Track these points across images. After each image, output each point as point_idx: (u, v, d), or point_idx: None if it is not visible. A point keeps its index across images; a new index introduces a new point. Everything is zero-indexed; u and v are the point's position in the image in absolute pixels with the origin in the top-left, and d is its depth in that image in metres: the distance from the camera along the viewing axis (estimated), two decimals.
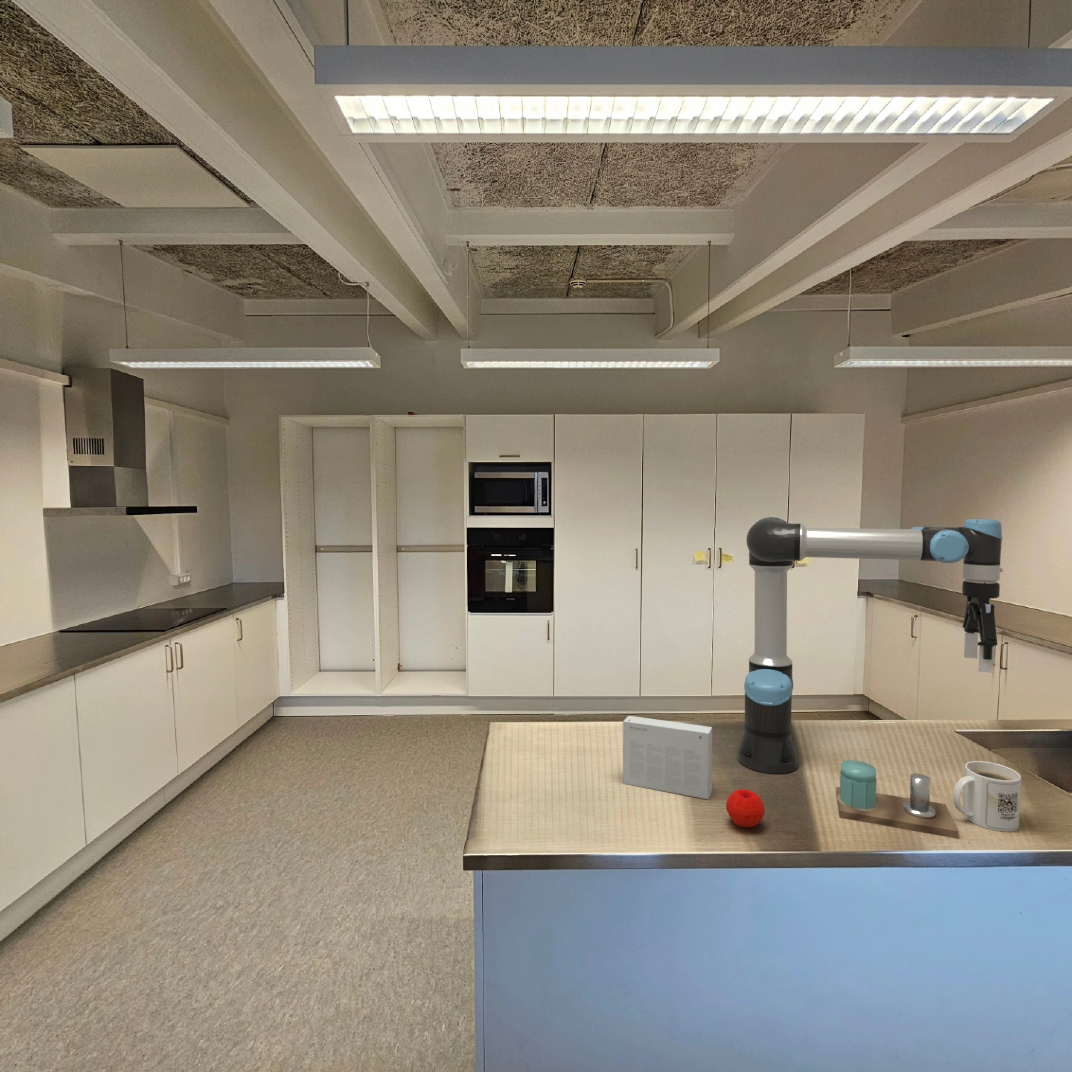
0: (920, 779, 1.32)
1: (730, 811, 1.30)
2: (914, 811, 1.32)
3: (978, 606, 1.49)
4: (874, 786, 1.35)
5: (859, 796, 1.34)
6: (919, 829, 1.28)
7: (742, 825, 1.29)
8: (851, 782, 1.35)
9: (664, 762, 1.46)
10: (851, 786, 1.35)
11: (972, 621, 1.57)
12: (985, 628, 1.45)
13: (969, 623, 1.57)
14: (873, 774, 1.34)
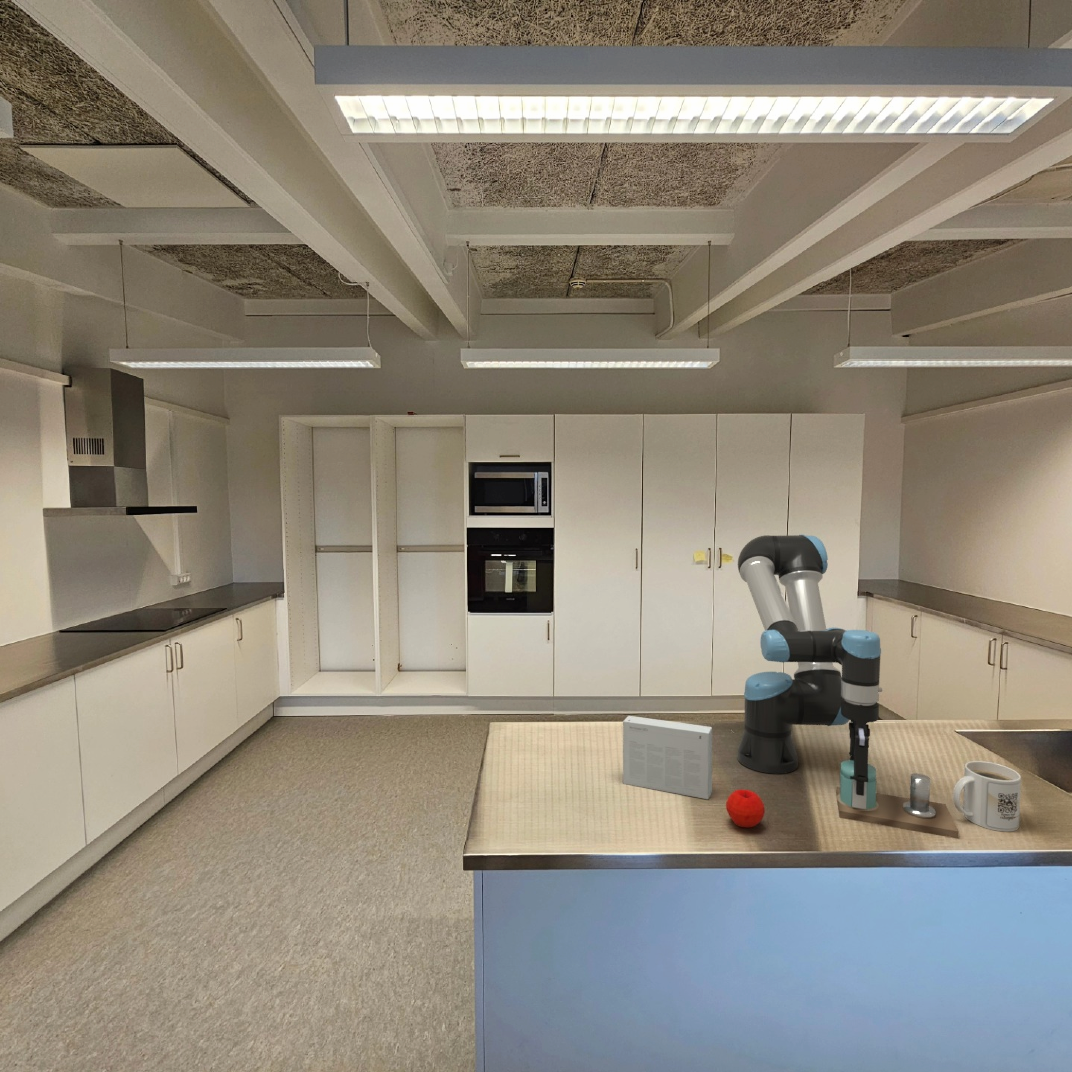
0: (920, 779, 1.32)
1: (730, 811, 1.30)
2: (914, 811, 1.32)
3: (855, 730, 1.34)
4: (874, 786, 1.35)
5: None
6: (919, 829, 1.28)
7: (742, 825, 1.29)
8: (851, 782, 1.35)
9: (664, 762, 1.46)
10: (851, 786, 1.35)
11: None
12: (857, 763, 1.31)
13: (852, 749, 1.40)
14: (873, 774, 1.34)
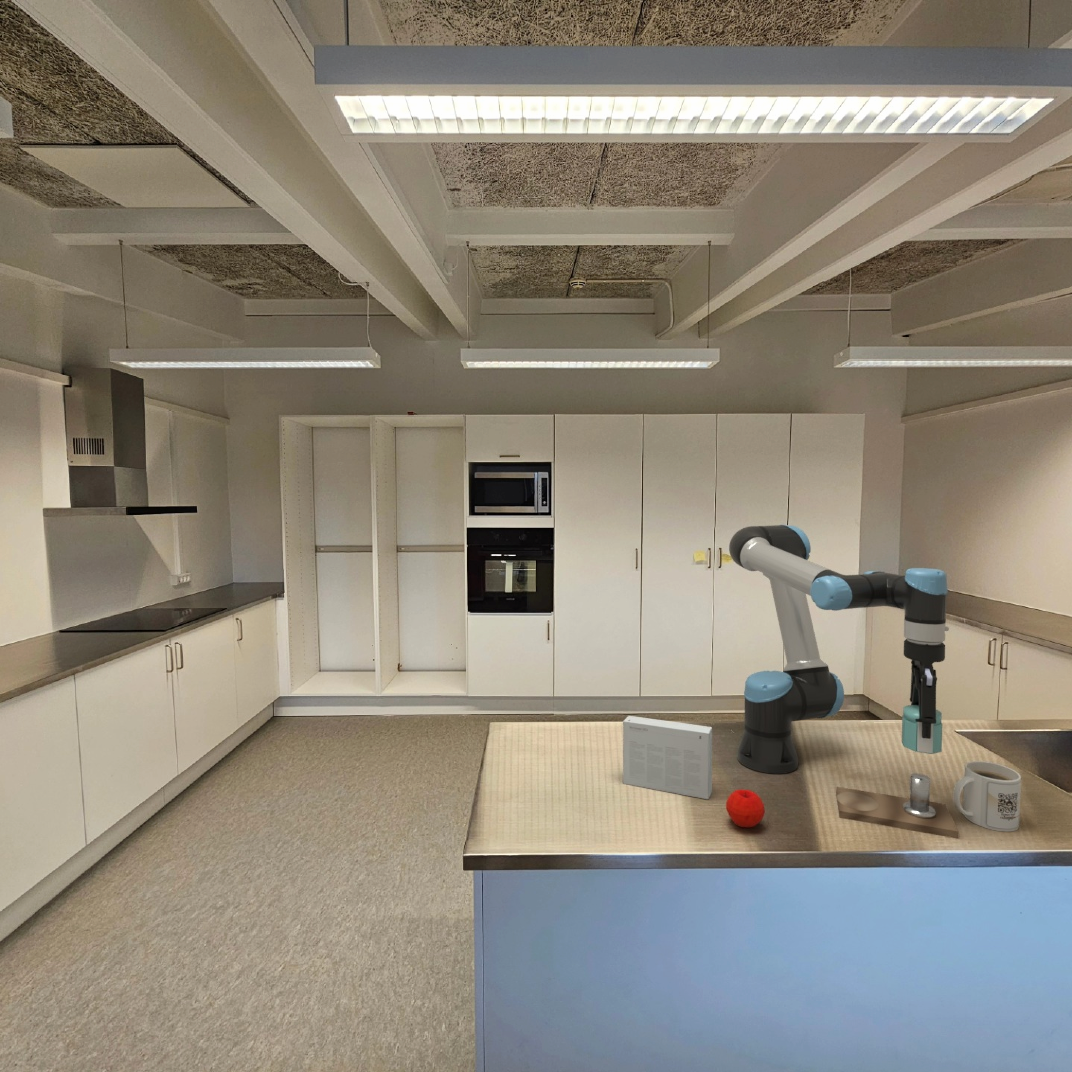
0: (920, 779, 1.32)
1: (730, 811, 1.30)
2: (914, 811, 1.32)
3: (920, 671, 1.28)
4: (940, 729, 1.29)
5: None
6: (919, 829, 1.28)
7: (742, 825, 1.29)
8: (916, 725, 1.29)
9: (664, 762, 1.46)
10: (916, 730, 1.29)
11: (918, 691, 1.34)
12: (924, 704, 1.25)
13: (915, 694, 1.34)
14: (939, 717, 1.29)
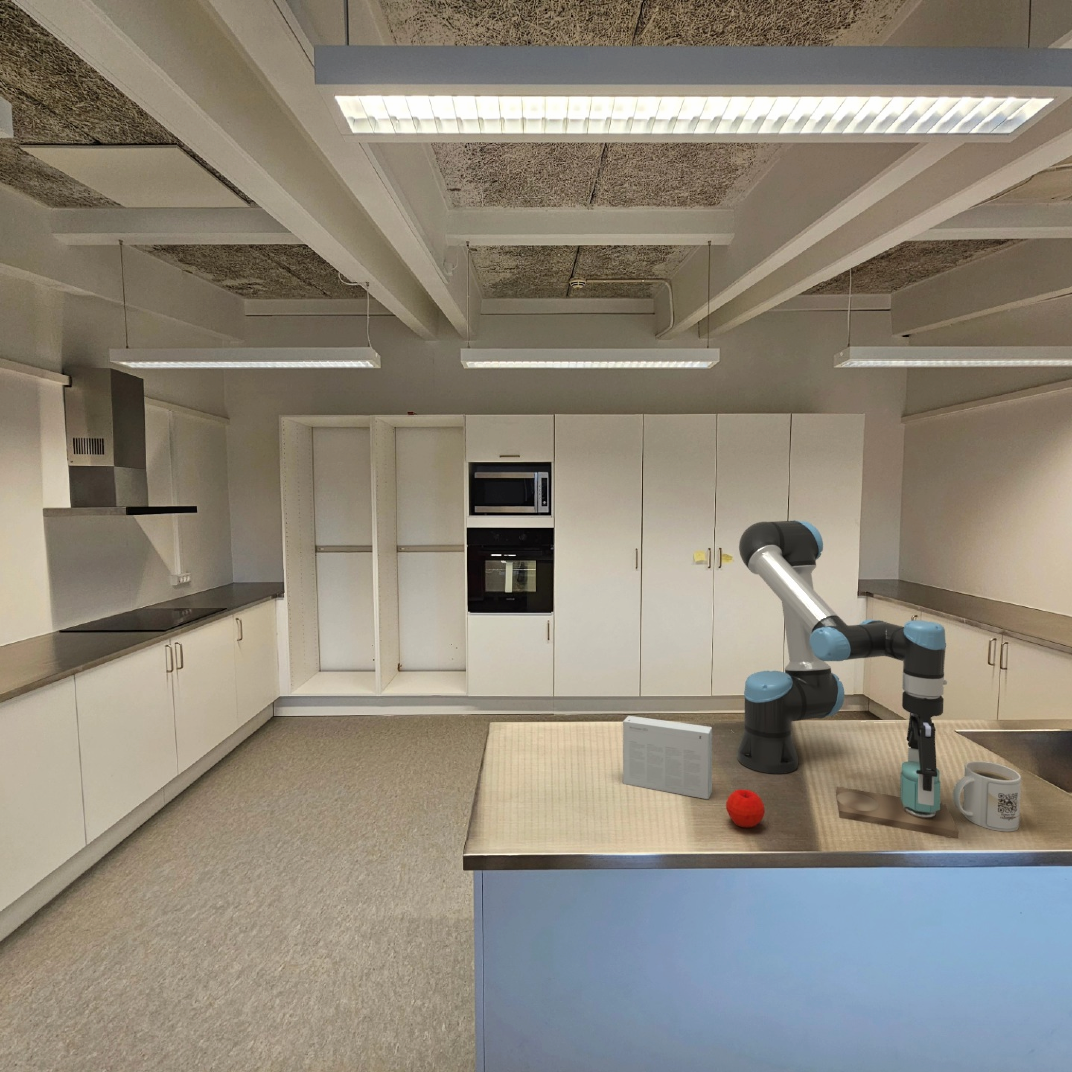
0: None
1: (730, 811, 1.30)
2: (914, 811, 1.32)
3: (918, 724, 1.29)
4: (938, 788, 1.30)
5: None
6: (919, 829, 1.28)
7: (742, 825, 1.29)
8: (914, 784, 1.30)
9: (664, 762, 1.46)
10: (914, 788, 1.30)
11: None
12: (924, 755, 1.25)
13: (912, 738, 1.37)
14: (937, 775, 1.29)
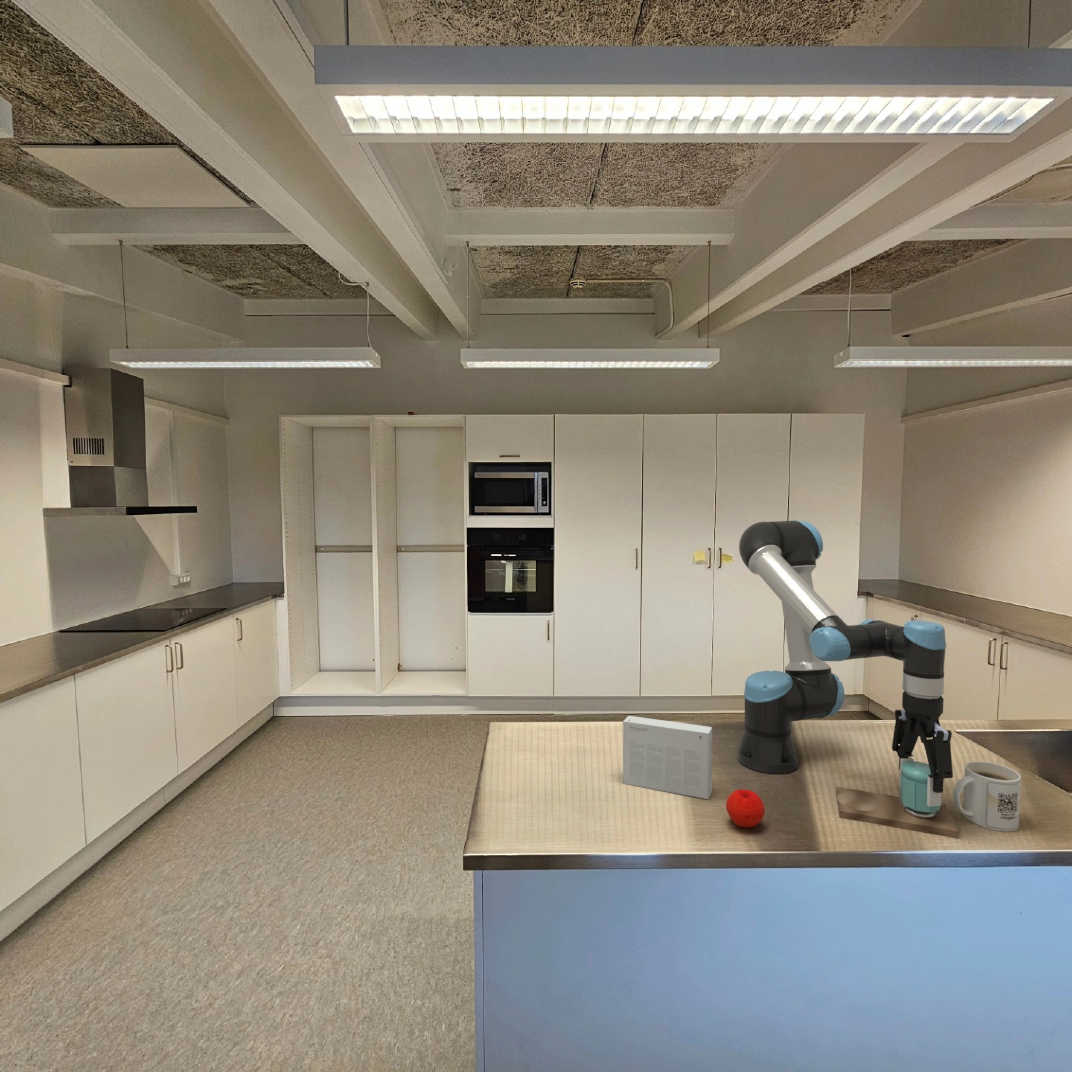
0: None
1: (730, 811, 1.30)
2: (914, 811, 1.32)
3: (928, 726, 1.28)
4: None
5: (923, 798, 1.30)
6: (919, 829, 1.28)
7: (742, 825, 1.29)
8: (914, 784, 1.30)
9: (664, 762, 1.46)
10: (914, 788, 1.30)
11: (909, 742, 1.35)
12: (942, 760, 1.25)
13: (906, 745, 1.35)
14: None
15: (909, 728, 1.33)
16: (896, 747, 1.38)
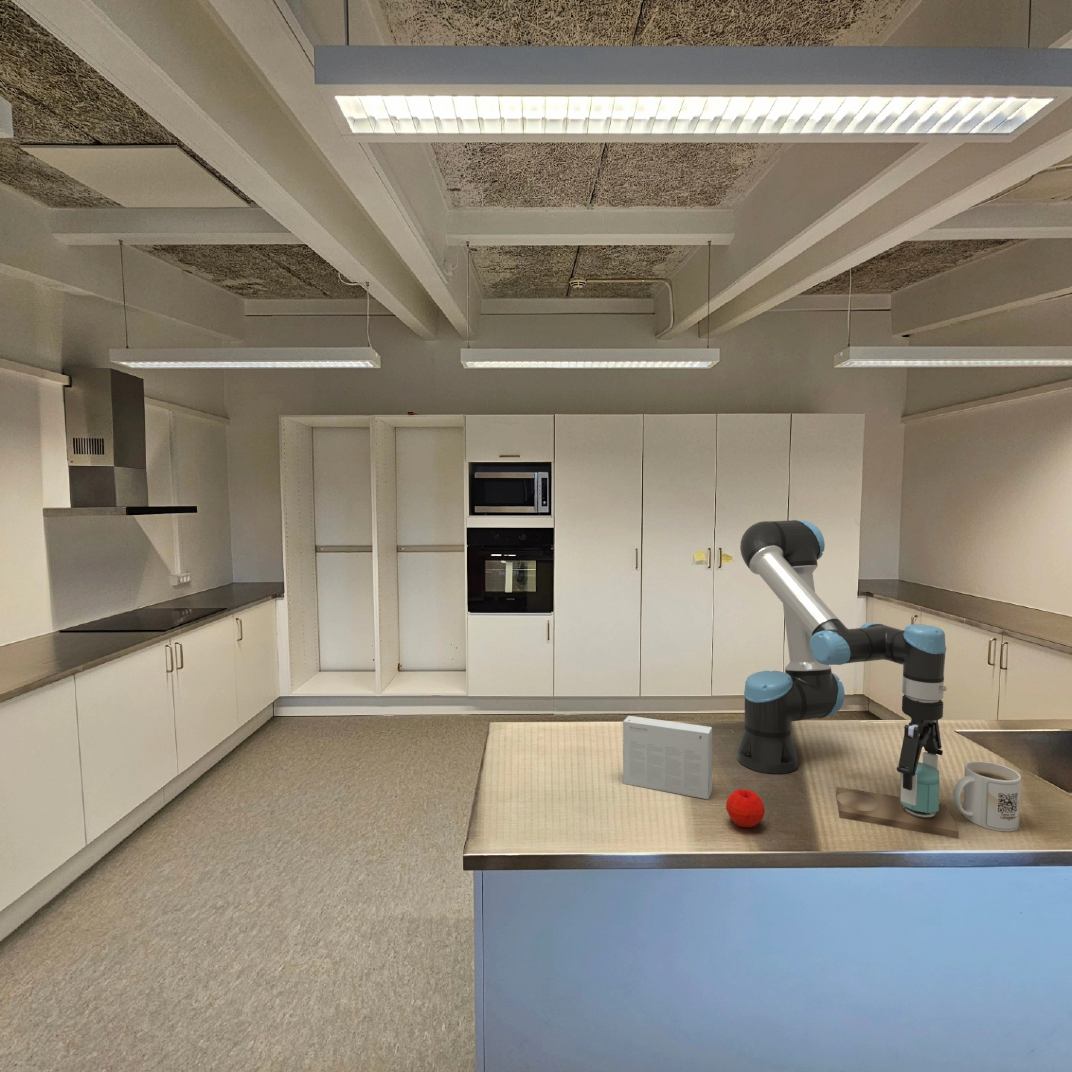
0: None
1: (730, 811, 1.30)
2: (914, 811, 1.32)
3: None
4: (925, 790, 1.29)
5: None
6: (919, 829, 1.28)
7: (742, 825, 1.29)
8: None
9: (664, 762, 1.46)
10: None
11: None
12: (902, 753, 1.27)
13: None
14: (923, 777, 1.29)
15: None
16: None
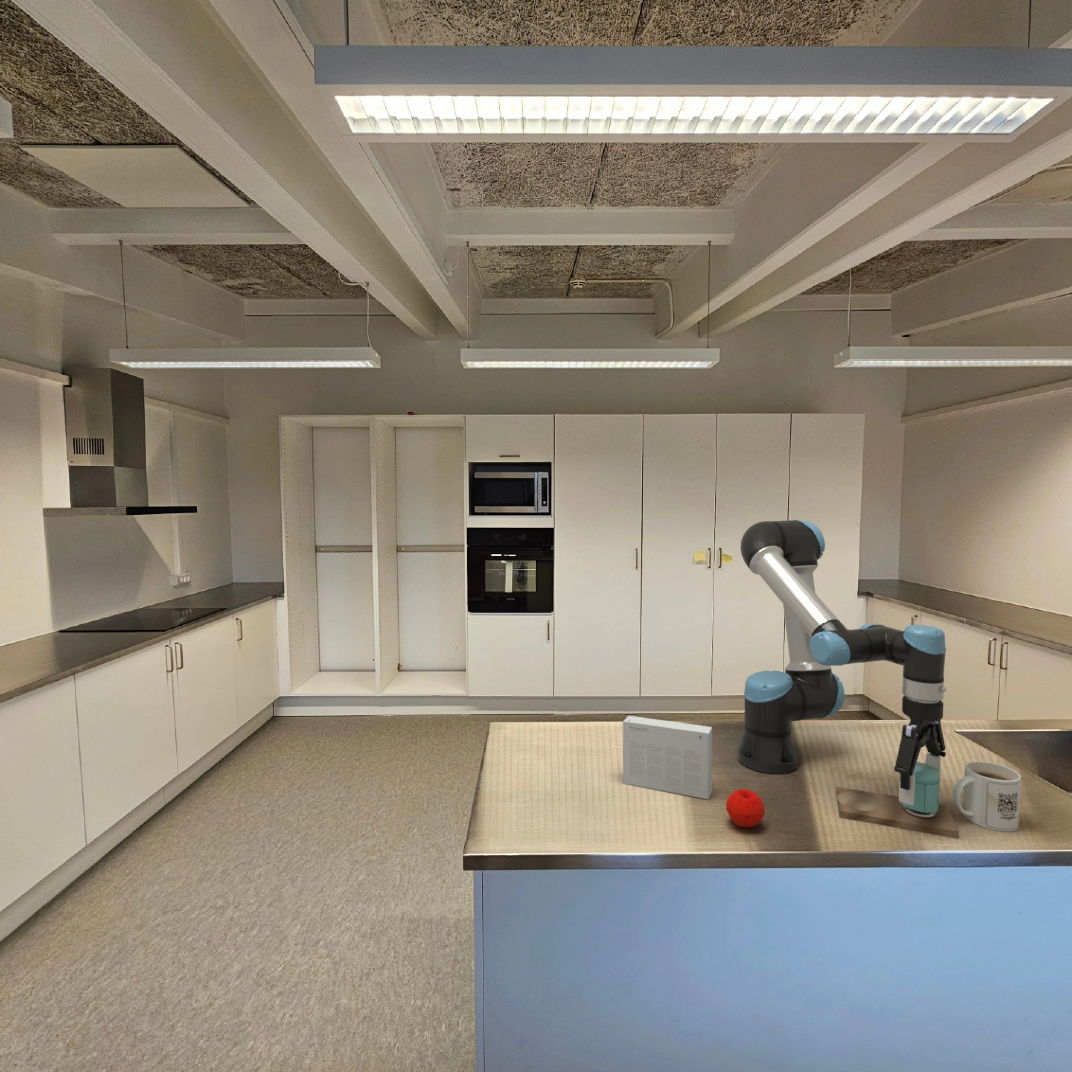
0: None
1: (730, 811, 1.30)
2: (914, 811, 1.32)
3: None
4: None
5: None
6: (919, 829, 1.28)
7: (742, 825, 1.29)
8: None
9: (664, 762, 1.46)
10: None
11: (927, 742, 1.35)
12: (899, 753, 1.27)
13: (925, 743, 1.36)
14: None
15: None
16: None
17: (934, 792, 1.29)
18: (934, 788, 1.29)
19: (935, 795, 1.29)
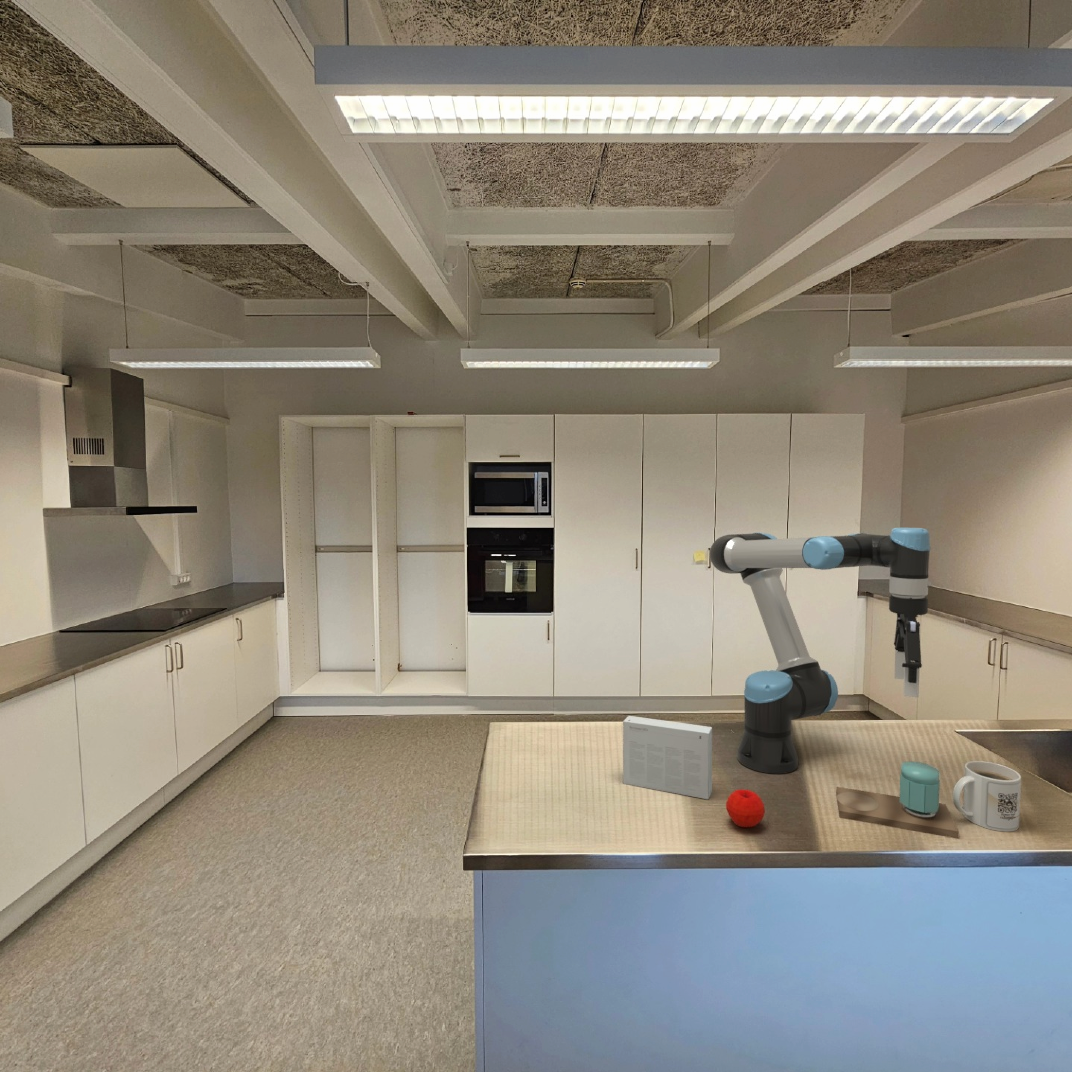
0: None
1: (730, 811, 1.30)
2: (914, 811, 1.32)
3: (904, 623, 1.36)
4: (907, 785, 1.31)
5: None
6: (919, 829, 1.28)
7: (742, 825, 1.29)
8: None
9: (664, 762, 1.46)
10: None
11: (901, 639, 1.43)
12: (909, 648, 1.31)
13: (899, 641, 1.44)
14: (907, 772, 1.31)
15: (897, 628, 1.41)
16: (896, 643, 1.47)
17: (934, 792, 1.29)
18: (934, 788, 1.29)
19: (935, 795, 1.29)
